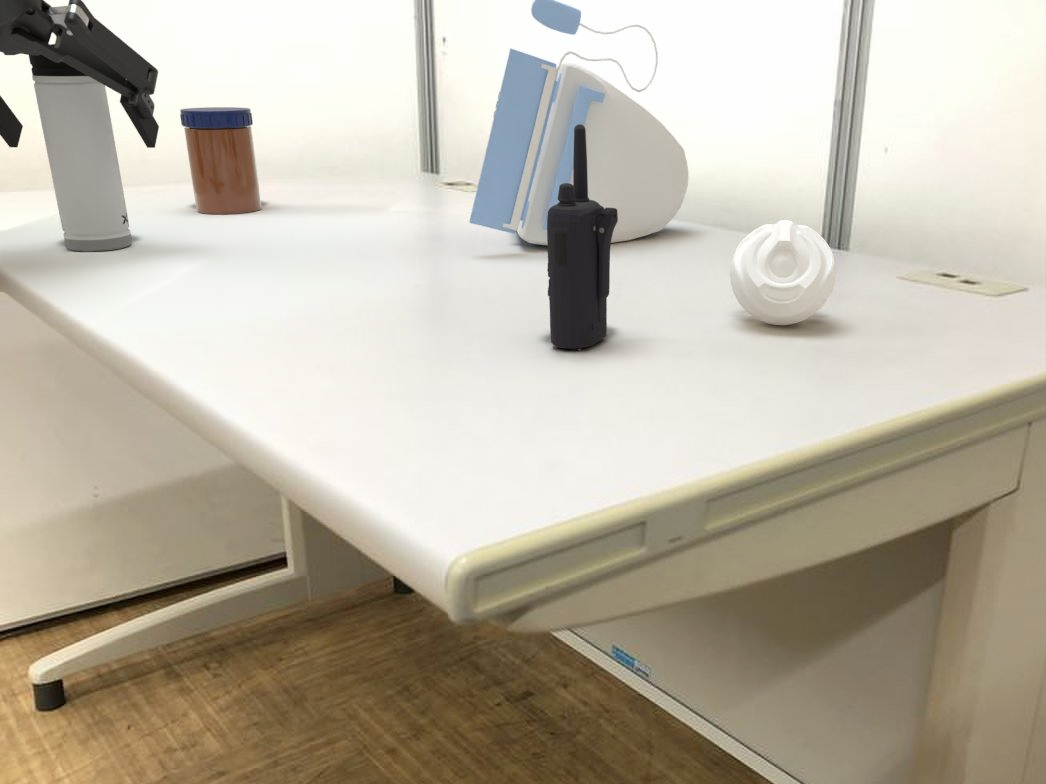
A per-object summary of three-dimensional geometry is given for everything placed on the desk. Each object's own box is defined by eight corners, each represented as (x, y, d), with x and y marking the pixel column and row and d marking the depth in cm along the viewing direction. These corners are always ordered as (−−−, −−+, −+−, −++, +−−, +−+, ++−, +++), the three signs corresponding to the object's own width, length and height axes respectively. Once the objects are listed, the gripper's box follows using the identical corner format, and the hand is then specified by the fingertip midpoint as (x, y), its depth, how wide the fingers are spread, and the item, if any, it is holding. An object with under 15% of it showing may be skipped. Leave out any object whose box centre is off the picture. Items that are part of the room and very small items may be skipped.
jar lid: (171, 127, 127) (169, 111, 126) (195, 122, 134) (193, 107, 134) (241, 128, 127) (238, 111, 126) (261, 123, 135) (259, 107, 134)
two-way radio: (574, 331, 80) (571, 121, 74) (629, 338, 78) (630, 124, 72) (541, 350, 75) (535, 127, 69) (599, 357, 73) (598, 129, 68)
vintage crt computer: (526, -17, 99) (481, -12, 113) (468, 229, 105) (432, 205, 119) (753, 67, 110) (686, 62, 124) (688, 284, 116) (631, 256, 131)
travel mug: (148, 244, 112) (113, 39, 104) (90, 254, 106) (49, 38, 99) (111, 238, 115) (75, 38, 107) (53, 247, 109) (10, 38, 102)
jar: (187, 214, 131) (172, 115, 126) (208, 205, 138) (195, 111, 134) (251, 214, 131) (238, 115, 127) (269, 205, 138) (257, 111, 134)
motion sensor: (725, 333, 80) (729, 228, 77) (731, 309, 86) (735, 213, 84) (833, 337, 79) (841, 232, 76) (830, 313, 86) (837, 216, 83)
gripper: (-201, -6, 85) (-50, 166, 105) (112, -4, 86) (204, 167, 106) (-176, -74, 88) (-33, 107, 108) (128, -71, 89) (214, 107, 109)
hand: (85, 137), depth 107 cm, fingers open, 13 cm apart
